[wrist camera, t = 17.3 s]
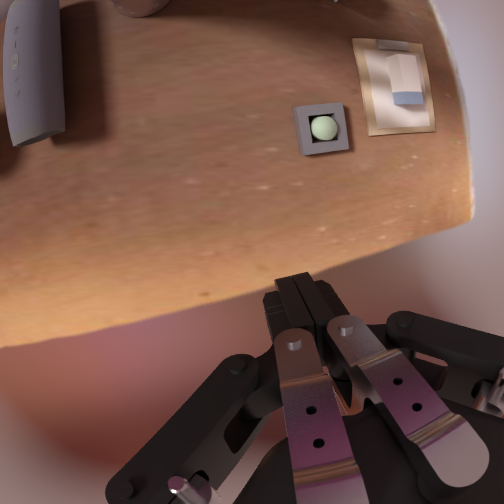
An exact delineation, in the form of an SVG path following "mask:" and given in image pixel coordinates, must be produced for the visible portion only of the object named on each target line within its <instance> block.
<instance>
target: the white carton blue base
mask: <svg viewBox="0 0 504 504" xmlns="http://www.w3.org/2000/svg"><path fill="white" fill-rule="evenodd" d="M386 60H387V65H388V70H389V76H390V81H391V87H392V93H393V100H394V105H395V104H424V103H423V96H422V90H421V83H420V78H419V72H418V67H417V62H416V57H415V56H414V55H404V54H396V55H392V56H389V57H386Z"/></svg>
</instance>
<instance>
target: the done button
mask: <svg viewBox="0 0 504 504" xmlns="http://www.w3.org/2000/svg"><path fill="white" fill-rule="evenodd" d="M309 125H310V131H311V135H312V136H313V137H314V138H316V139H321V140H330V139H332V138H333V137H334V136H335V135H336V133H337V124H336V122H335V121H334V120H333V119H332V118H330V117H327V116H321V117H315V118H313V119H312V120H311V121H310V123H309Z"/></svg>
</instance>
